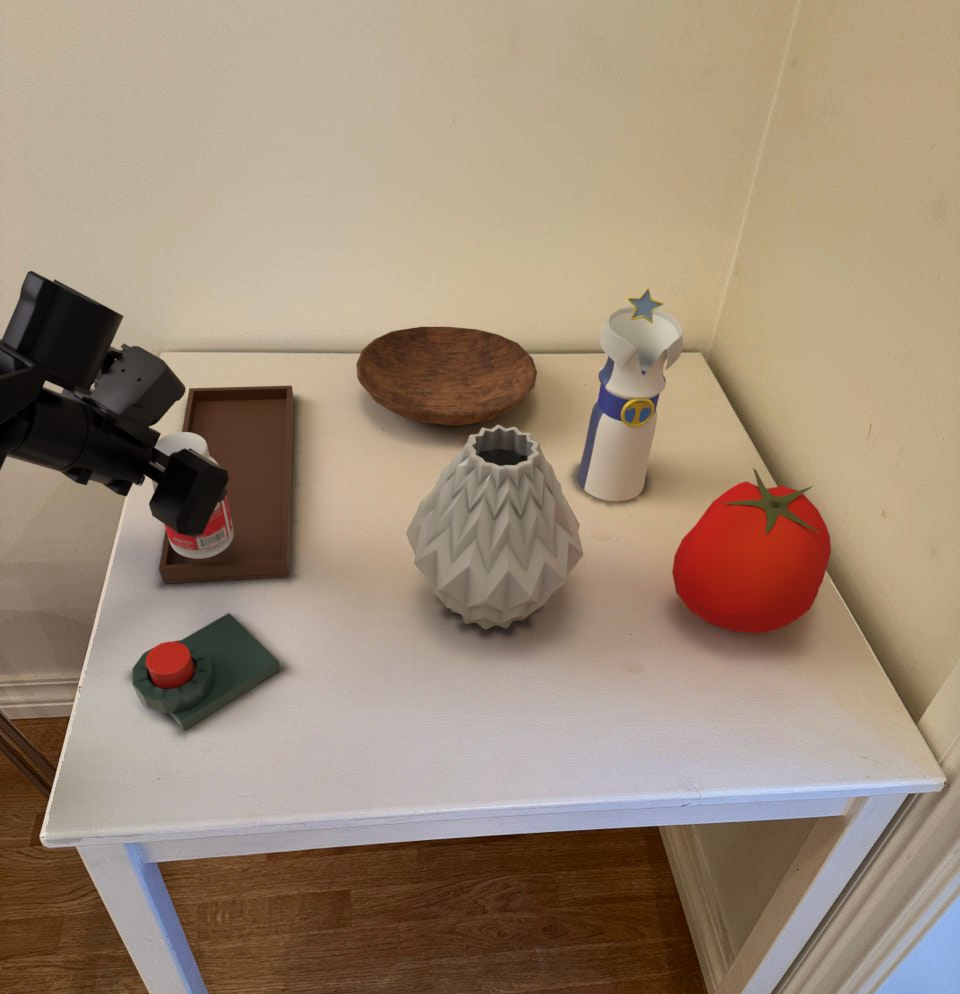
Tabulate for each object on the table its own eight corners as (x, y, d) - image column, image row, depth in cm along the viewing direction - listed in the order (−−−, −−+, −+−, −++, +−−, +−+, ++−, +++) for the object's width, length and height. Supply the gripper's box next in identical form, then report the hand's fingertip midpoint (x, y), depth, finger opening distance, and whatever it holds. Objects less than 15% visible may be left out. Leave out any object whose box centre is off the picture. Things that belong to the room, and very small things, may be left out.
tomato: (756, 548, 92) (798, 444, 82) (835, 640, 84) (892, 536, 74) (628, 580, 88) (656, 474, 78) (697, 680, 79) (738, 576, 69)
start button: (165, 696, 72) (160, 681, 71) (143, 671, 74) (137, 656, 72) (202, 673, 74) (198, 658, 72) (180, 650, 76) (175, 634, 74)
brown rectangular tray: (289, 576, 86) (287, 562, 84) (163, 583, 84) (158, 569, 83) (293, 399, 106) (291, 385, 105) (192, 402, 105) (189, 388, 103)
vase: (387, 563, 88) (381, 409, 74) (533, 530, 92) (552, 379, 78) (439, 681, 78) (443, 529, 64) (600, 638, 82) (635, 487, 69)
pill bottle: (188, 513, 87) (164, 421, 78) (244, 525, 86) (227, 433, 78) (158, 553, 82) (130, 460, 74) (217, 566, 82) (196, 474, 74)
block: (170, 739, 72) (162, 718, 70) (122, 683, 76) (113, 662, 74) (281, 669, 78) (276, 648, 76) (231, 620, 81) (225, 599, 79)
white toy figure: (658, 501, 97) (715, 289, 78) (585, 505, 95) (625, 292, 77) (638, 456, 102) (687, 248, 83) (569, 460, 101) (602, 250, 82)
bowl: (536, 453, 101) (540, 418, 98) (350, 445, 101) (347, 409, 97) (530, 363, 115) (534, 329, 111) (365, 355, 114) (363, 320, 110)
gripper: (186, 383, 61) (311, 442, 75) (31, 295, 68) (172, 364, 82) (121, 522, 63) (256, 554, 77) (-24, 421, 70) (124, 468, 84)
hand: (201, 480), depth 80 cm, fingers closed on pill bottle, 6 cm apart
